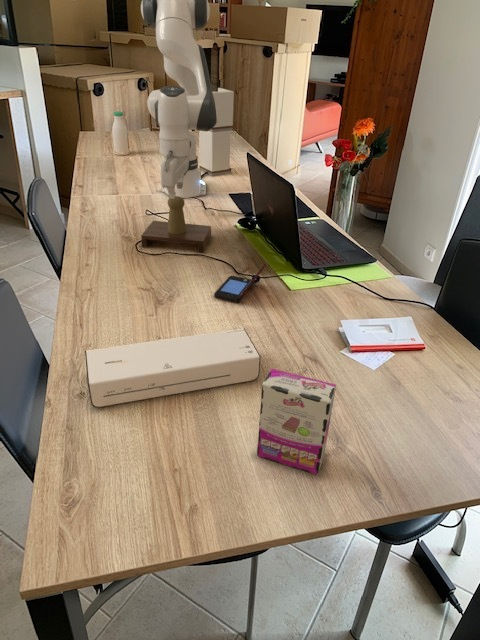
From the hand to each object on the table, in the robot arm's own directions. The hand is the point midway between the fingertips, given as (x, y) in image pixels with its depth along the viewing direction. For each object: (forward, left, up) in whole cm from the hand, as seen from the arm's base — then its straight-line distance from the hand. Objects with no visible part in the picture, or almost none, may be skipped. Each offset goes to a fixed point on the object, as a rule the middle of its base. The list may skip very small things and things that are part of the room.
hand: (176, 192), depth 153 cm
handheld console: (+29, +25, -17) cm, 42 cm away
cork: (0, 0, -13) cm, 13 cm away
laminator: (+68, +16, -17) cm, 71 cm away
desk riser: (0, 0, -16) cm, 16 cm away
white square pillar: (-83, -3, -17) cm, 84 cm away
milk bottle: (-101, -55, -17) cm, 116 cm away
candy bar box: (+85, +42, -17) cm, 96 cm away
